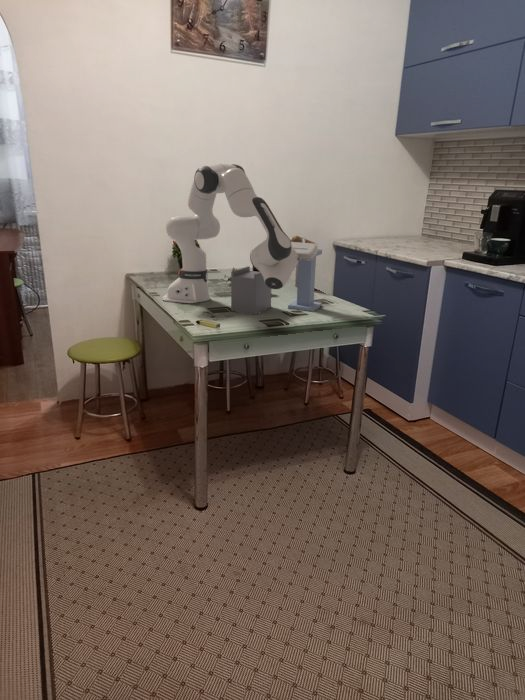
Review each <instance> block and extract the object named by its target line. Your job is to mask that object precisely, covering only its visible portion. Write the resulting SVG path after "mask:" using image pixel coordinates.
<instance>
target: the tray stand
mask: <svg viewBox="0 0 525 700" xmlns="http://www.w3.org/2000/svg"><path fill="white" fill-rule="evenodd" d="M230 273H231V275H230V277H231V282H230V283H231V285H230V286H231V287H230V291H231V292H230V299H231V301H230V304H231V305H230V306H231V307H230V309H231V312H233V311H237V312H236V313H241V312H244V313H243V314H248V313H251V314H250V315H255V314H256V315H257V313H258V314H260V313H261V312H264V311H265V309H266V310H268V309H269V308H271V307H272V289H271V288H269V287H268V286H267V285H266V284H265V282H264V278H263V276H262V274H261V273H260V272H256V271H253V270H251V268H250V266H249V265H248V266H245V267H241V268H238V269H237V270H236V269H235V271H231V272H230ZM267 308H268V309H267ZM263 310H264V311H263ZM259 312H260V313H259Z"/></svg>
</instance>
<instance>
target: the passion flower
mask: <svg viewBox="0 0 525 700" xmlns="http://www.w3.org/2000/svg"><path fill="white" fill-rule="evenodd" d="M235 270H238V269H237V268H235V267H232V271H235ZM232 271H231V272H232ZM224 277H225V278H227V280H226V282H225V283H228V282H230V283H229V286H231V276H227V275H226V274H224Z"/></svg>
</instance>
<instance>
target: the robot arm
mask: <svg viewBox="0 0 525 700" xmlns="http://www.w3.org/2000/svg"><path fill="white" fill-rule="evenodd" d="M193 178H194V179H193V180H192V184H191V187H190V191H189V195H188V199H187V206H188V208H189V210H190V211H191V212H193V213H194V214H192V215H177V216H172V217H169V218H168V220H167V222H166V226H165V230H166V233H167V236H168V237H169V238H170V239H171V240H172V241H174V242H175V244H177V246H178V248H179V249H180V253H181V262H182V268H180V269H179V271H178V274H177V275H178V278H176V279H175V280H173V282H172V283H170V284H169V285H168V288H167V291H166V294H165V295H163V296H162V301H163V300H164V301H163V302H171V303H183V304H185V303H186V304H195V303H202V302H207V301H209V300H211V296H210V294H209V288H208V277H209V276H208V269H207V254H206V252H205V251H204V250H203V249H202V248H200V247H199V246H197V245H196V240H200V241H201V240H209V239H213V238H216V237H217V236H218V235H219V234H220V230H221V224H220V221H219V219H218V218H217V217H216V216H215V215H214V213H213V209H214V205H215V204H214V203H215V201H216V198H217V194H223V193H224V194H225V197H226V200H227V203H228V205H229V207H230V210H231V212H232V213H233V215H235V216H237V217H240V218H252V217H256V218H257V219H258V220H259V222H260V224H261V226H262V227H263V229H264V230H265V232H266V235H267V236H266V239H265V240H263V241H262V242H260V243H259V244H258V245H257V246H256V247H254V248H253V249H252V250H251V251H250V253H249V254H250V255H249V259H250V263H251V265H252V267H253V266H254V267H255V268H256V269H257V270H258V271H260V273H261V274H262V276H263V278H264V282H265V284H266V285H267V286H268V287H269V288H271V290H280V289H282V288H284V287H285V285H286V284H287V283H288V281H289V280H290V278H291V276H292V274H293V272H294V270H296V265H297V263H298V262H299V260H300V261H310V260H313V258H314V257H315V255H316V254H317V252H318V249H319V248H318V244H316V243H315V244H313V243H305V241H306V240H307V239H306V237H301V243H299V242H293V237H294V236H292V237H291V238H289V236H288V235H287V234H286V233H285V232H284V230H283V228H282V227H281V225H280V223H279V222H278V220H277V218H276V217H275V215H274V213H273V211H272V209H271V208H270V206H269V204H268V203H267V202H266V200H264V199H263V198H262V197H259V196H257V194H256V192H255V190H254V188H253V186H252V182H250V181H251V180H250V179H249V178H248V176H247V174H246V172H245V169H244V168H243V166H241V165H239V164H234V163H233V164H225V163H224V164H223V163H218V164H214V165H204V166H200V167H198V168H197V169H196V171H195V173H194V177H193ZM305 239H306V240H305Z"/></svg>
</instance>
